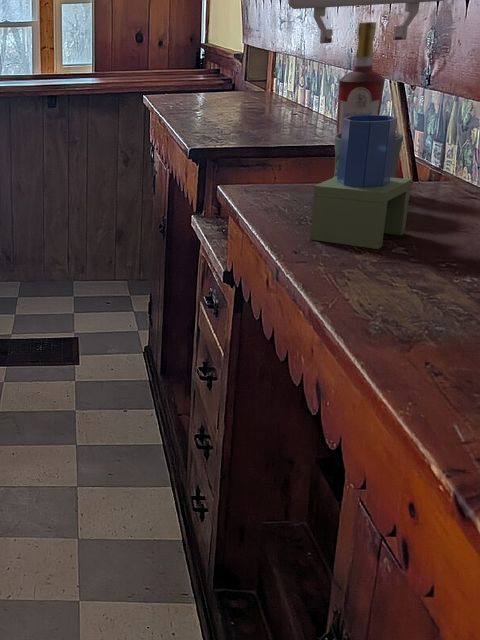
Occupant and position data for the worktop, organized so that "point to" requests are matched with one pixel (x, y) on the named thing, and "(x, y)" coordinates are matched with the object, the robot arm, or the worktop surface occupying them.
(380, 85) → the liquor
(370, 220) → the shelf
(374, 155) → the cup
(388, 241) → the worktop surface
